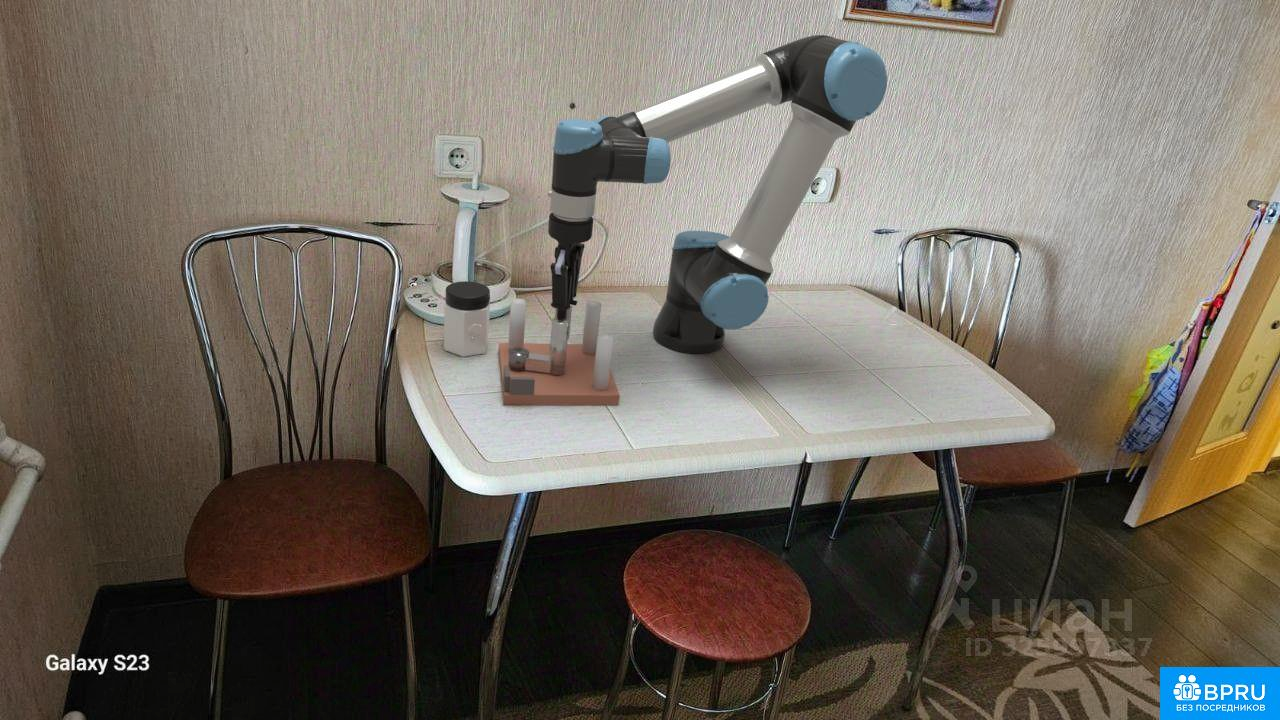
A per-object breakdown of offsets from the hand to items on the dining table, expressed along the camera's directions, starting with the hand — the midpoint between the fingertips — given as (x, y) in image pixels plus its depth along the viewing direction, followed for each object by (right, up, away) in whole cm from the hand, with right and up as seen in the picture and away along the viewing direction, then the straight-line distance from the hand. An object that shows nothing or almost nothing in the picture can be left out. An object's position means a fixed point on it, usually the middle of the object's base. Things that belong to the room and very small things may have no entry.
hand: (561, 338), depth 149 cm
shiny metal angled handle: (-4, -6, -1) cm, 7 cm away
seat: (-1, -7, +1) cm, 7 cm away
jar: (-19, -2, +8) cm, 21 cm away
